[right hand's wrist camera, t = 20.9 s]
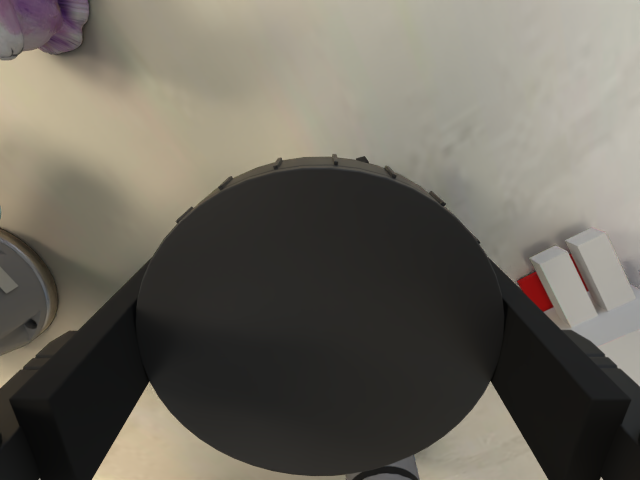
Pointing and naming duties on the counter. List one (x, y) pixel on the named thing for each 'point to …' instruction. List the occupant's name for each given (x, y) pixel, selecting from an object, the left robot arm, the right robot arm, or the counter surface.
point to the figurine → (41, 26)
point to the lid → (319, 318)
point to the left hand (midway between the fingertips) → (301, 175)
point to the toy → (589, 296)
